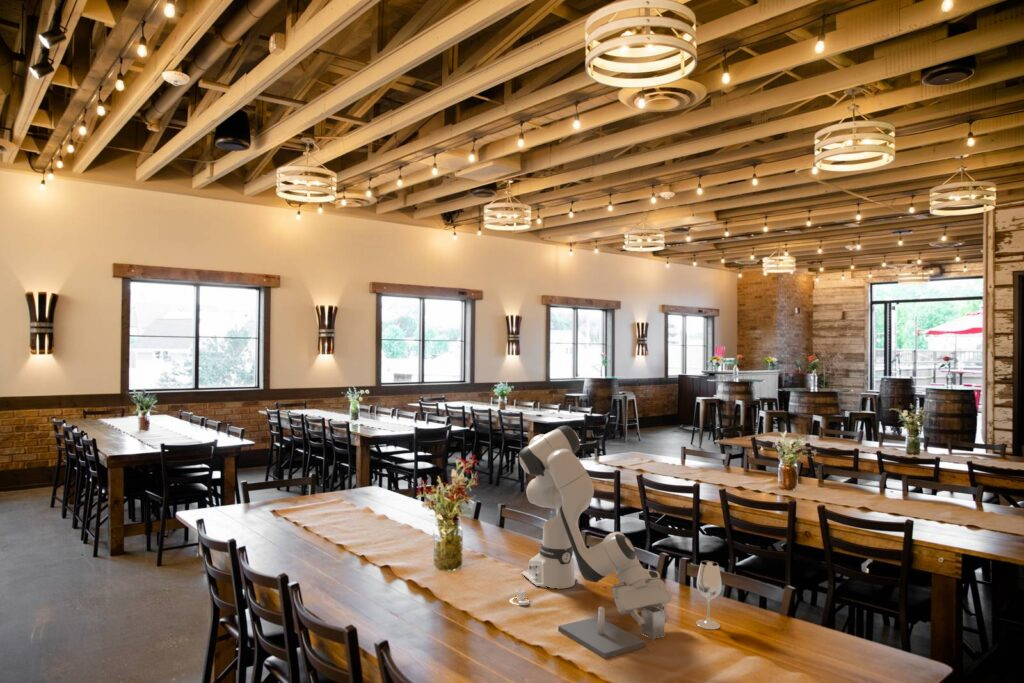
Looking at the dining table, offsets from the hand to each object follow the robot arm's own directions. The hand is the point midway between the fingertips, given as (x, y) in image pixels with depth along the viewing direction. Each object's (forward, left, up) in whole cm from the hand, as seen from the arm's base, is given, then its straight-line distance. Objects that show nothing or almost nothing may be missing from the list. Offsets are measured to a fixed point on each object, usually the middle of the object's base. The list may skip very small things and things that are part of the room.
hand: (654, 621), depth 209 cm
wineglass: (+2, +22, -5) cm, 23 cm away
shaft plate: (-7, -16, -4) cm, 18 cm away
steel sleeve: (-1, 0, -4) cm, 4 cm away
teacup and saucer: (-44, -23, -5) cm, 50 cm away
